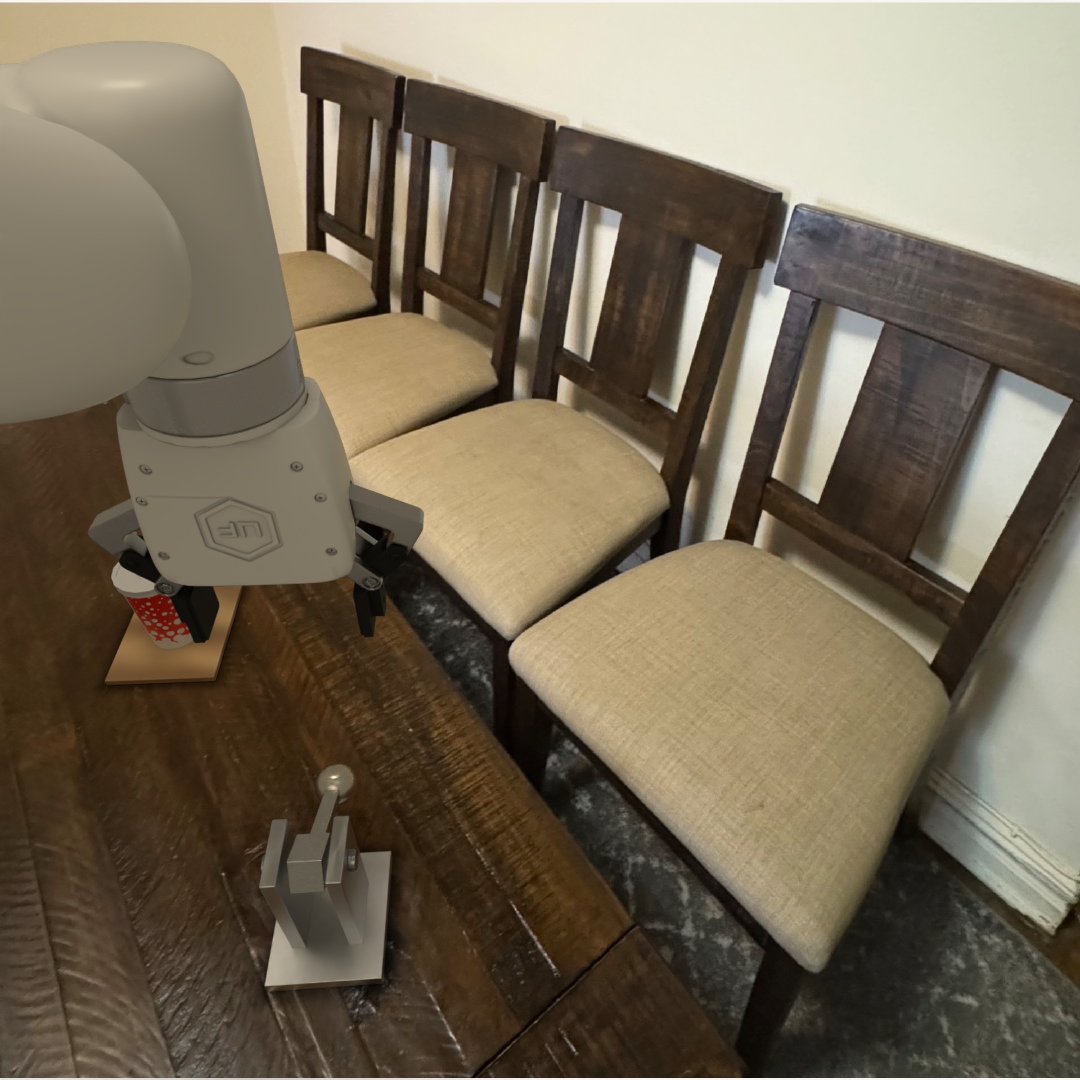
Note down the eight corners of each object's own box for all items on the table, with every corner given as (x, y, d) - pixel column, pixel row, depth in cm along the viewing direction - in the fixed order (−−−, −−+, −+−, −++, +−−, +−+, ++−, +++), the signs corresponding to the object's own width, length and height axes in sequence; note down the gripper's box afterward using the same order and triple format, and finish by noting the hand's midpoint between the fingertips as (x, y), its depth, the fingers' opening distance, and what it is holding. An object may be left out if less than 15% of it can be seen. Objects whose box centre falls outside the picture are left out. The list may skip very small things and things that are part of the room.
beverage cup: (220, 631, 74) (178, 528, 65) (161, 666, 71) (108, 562, 61) (191, 599, 77) (146, 495, 68) (133, 630, 74) (77, 527, 64)
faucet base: (289, 863, 58) (255, 788, 50) (392, 857, 59) (375, 782, 51) (267, 991, 52) (224, 929, 44) (383, 983, 52) (361, 920, 44)
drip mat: (215, 681, 71) (213, 677, 70) (106, 685, 70) (104, 681, 70) (243, 589, 79) (241, 585, 79) (146, 592, 79) (144, 588, 78)
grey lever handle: (320, 791, 59) (317, 755, 58) (361, 789, 59) (358, 754, 59) (282, 899, 48) (277, 857, 47) (333, 896, 48) (329, 854, 47)
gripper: (-27, 423, 30) (121, 678, 42) (404, 417, 31) (431, 666, 43) (49, 334, 36) (161, 581, 47) (413, 333, 37) (435, 574, 48)
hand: (289, 622), depth 45 cm, fingers open, 9 cm apart
